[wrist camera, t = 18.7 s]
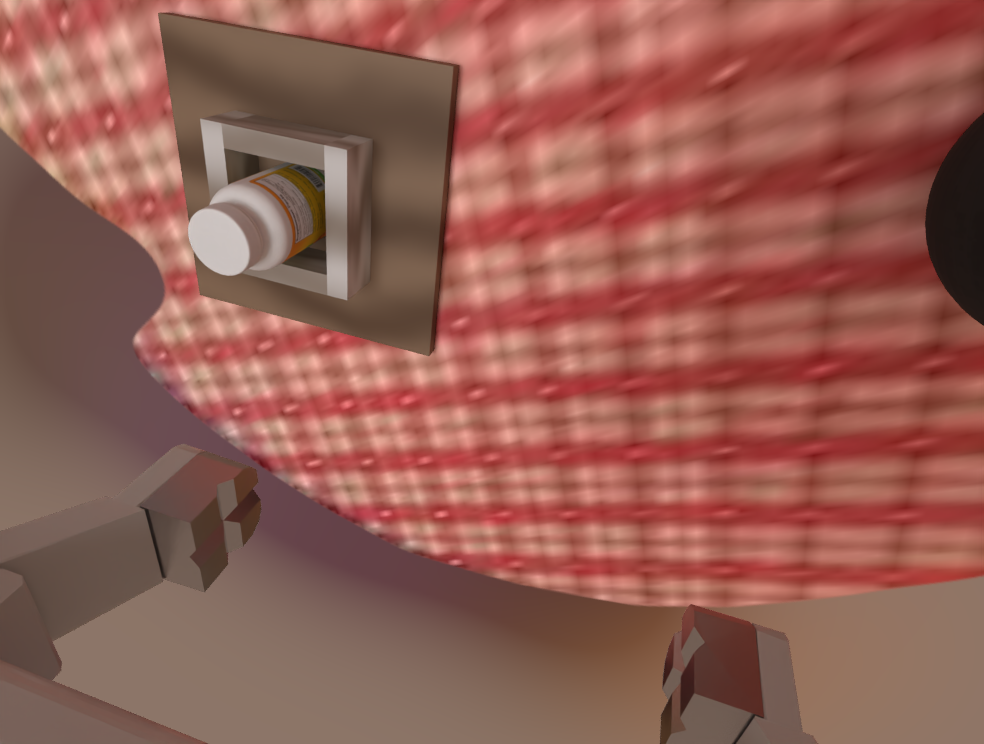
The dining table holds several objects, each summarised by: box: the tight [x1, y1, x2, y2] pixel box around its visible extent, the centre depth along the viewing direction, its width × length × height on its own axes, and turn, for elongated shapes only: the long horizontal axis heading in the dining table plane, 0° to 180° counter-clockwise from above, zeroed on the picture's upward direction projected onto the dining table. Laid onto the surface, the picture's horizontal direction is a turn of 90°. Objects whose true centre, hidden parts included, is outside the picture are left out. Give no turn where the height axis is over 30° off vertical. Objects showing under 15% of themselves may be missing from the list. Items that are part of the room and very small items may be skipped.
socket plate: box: [158, 13, 459, 356], centre depth 41 cm, size 20×20×4 cm
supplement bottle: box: [188, 162, 326, 276], centre depth 38 cm, size 5×5×10 cm
